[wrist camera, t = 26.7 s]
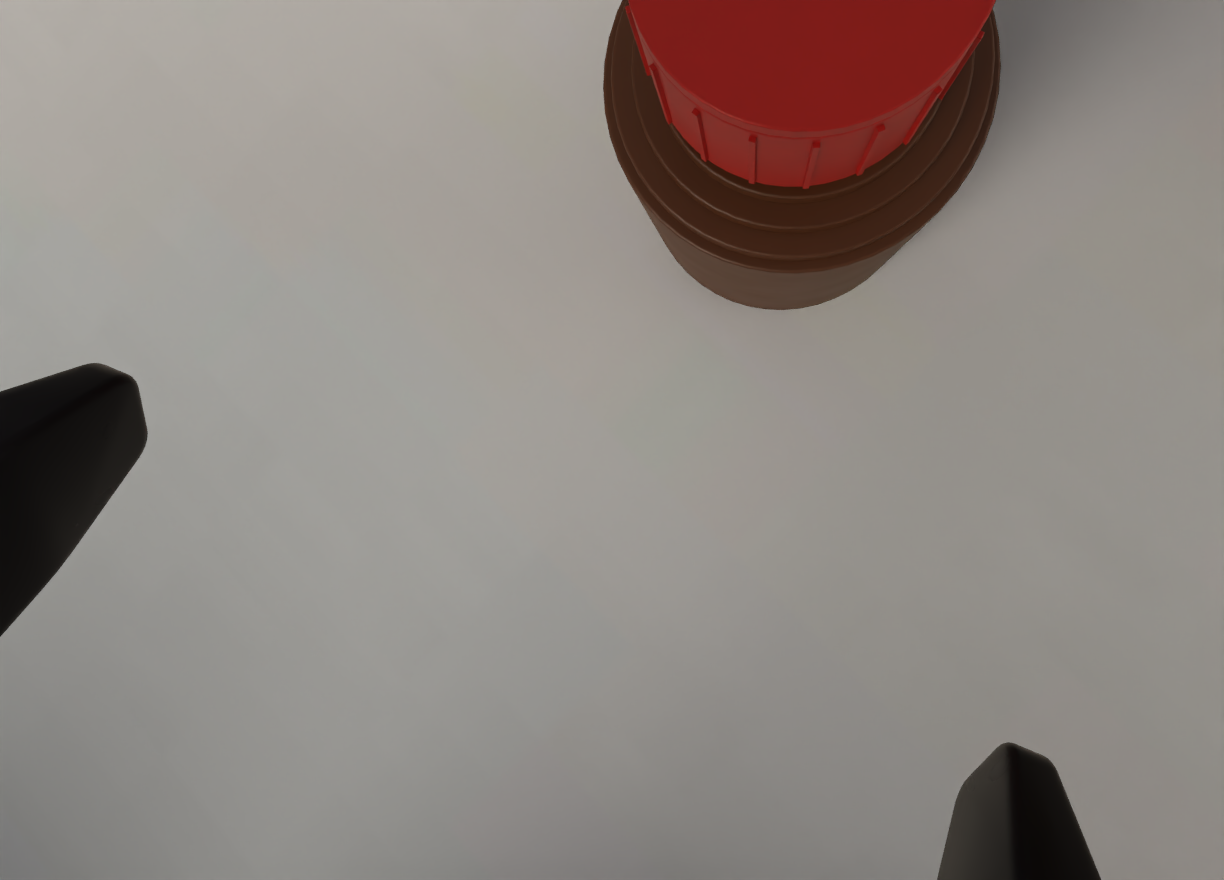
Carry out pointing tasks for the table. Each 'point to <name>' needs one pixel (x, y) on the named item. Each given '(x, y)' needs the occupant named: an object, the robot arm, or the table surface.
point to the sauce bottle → (791, 189)
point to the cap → (802, 77)
